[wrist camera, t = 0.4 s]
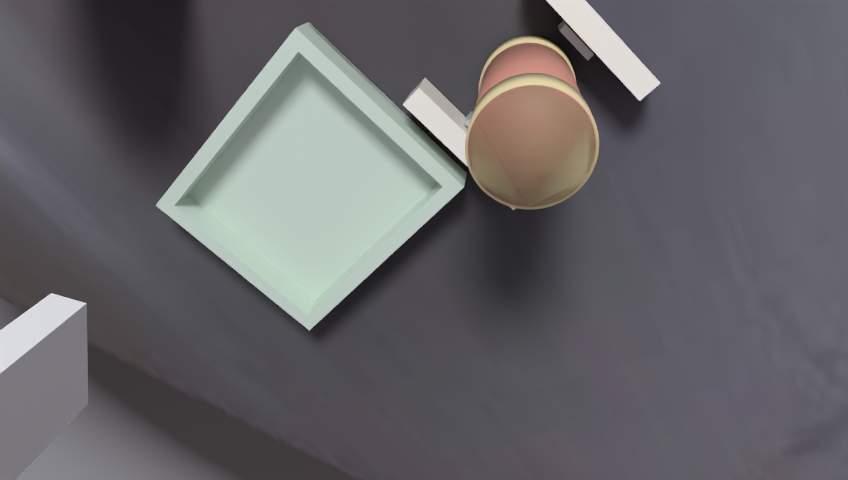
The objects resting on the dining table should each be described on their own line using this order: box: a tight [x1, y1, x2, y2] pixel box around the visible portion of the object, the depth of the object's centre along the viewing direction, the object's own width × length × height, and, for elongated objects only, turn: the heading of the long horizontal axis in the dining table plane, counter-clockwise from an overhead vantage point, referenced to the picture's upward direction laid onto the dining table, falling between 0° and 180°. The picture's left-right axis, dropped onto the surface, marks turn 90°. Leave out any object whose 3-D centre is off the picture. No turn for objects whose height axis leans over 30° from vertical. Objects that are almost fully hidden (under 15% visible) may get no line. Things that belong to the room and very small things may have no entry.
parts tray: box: [156, 22, 467, 330], centre depth 36 cm, size 12×14×2 cm
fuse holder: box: [403, 0, 660, 210], centre depth 31 cm, size 8×9×2 cm
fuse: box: [465, 35, 599, 209], centre depth 28 cm, size 5×5×11 cm
